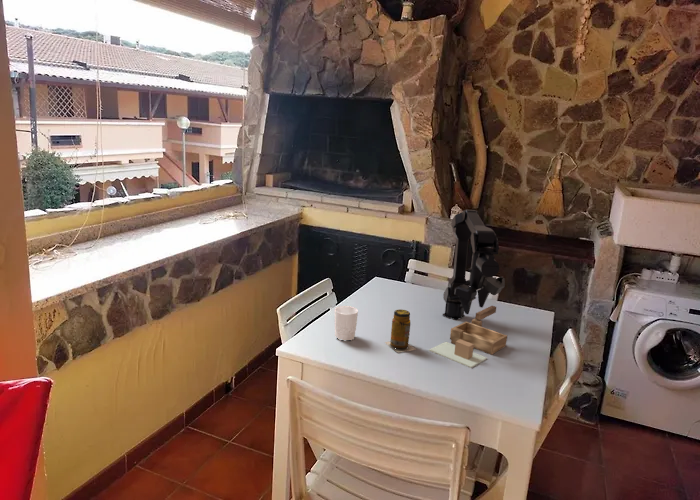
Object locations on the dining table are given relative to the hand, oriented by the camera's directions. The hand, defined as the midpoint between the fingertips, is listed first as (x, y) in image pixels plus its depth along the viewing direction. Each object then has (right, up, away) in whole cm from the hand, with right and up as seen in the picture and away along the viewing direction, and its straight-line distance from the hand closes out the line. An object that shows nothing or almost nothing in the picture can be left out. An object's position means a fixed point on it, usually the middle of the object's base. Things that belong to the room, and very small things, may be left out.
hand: (474, 310), depth 176 cm
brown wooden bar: (+8, -3, +14) cm, 16 cm away
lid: (-7, -14, -7) cm, 17 cm away
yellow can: (-25, -12, -3) cm, 28 cm away
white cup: (-44, -10, +2) cm, 45 cm away
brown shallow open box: (+2, -11, +3) cm, 12 cm away
